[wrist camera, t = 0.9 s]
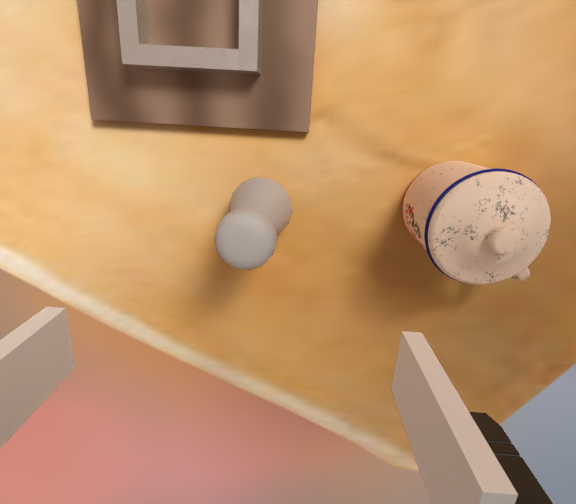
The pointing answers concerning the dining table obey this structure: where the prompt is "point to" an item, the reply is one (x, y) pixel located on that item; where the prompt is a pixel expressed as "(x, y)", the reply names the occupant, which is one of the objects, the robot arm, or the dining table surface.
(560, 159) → the dining table surface
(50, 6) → the dining table surface
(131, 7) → the metal collar
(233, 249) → the salt shaker
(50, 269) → the dining table surface
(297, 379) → the dining table surface
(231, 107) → the walnut board
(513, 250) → the teacup with lid
